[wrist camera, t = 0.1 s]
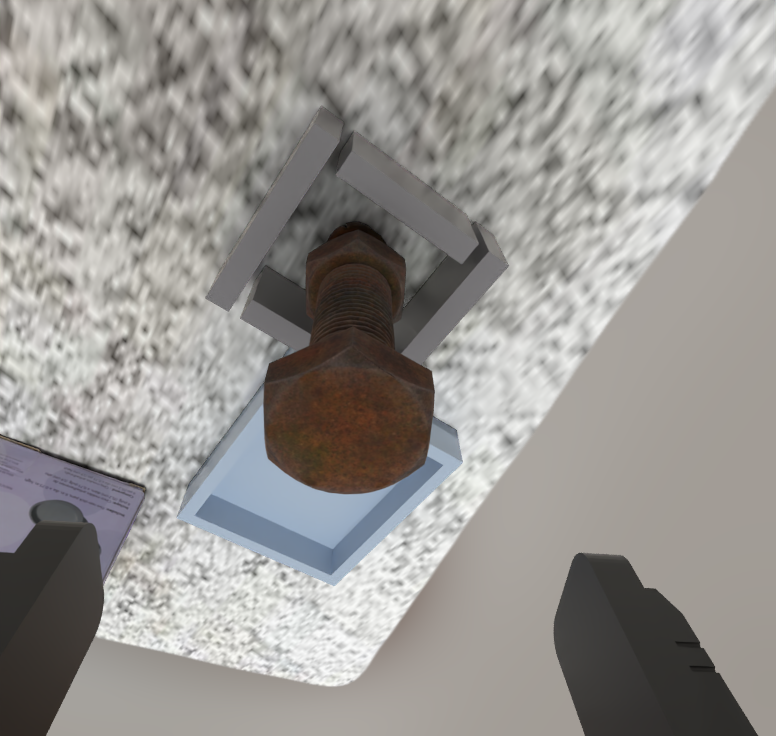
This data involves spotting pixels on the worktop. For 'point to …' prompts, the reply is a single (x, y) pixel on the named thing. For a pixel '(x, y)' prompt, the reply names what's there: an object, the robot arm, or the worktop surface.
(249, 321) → the holder
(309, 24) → the worktop surface
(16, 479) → the cake pan box
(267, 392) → the bolt
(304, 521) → the parts tray
